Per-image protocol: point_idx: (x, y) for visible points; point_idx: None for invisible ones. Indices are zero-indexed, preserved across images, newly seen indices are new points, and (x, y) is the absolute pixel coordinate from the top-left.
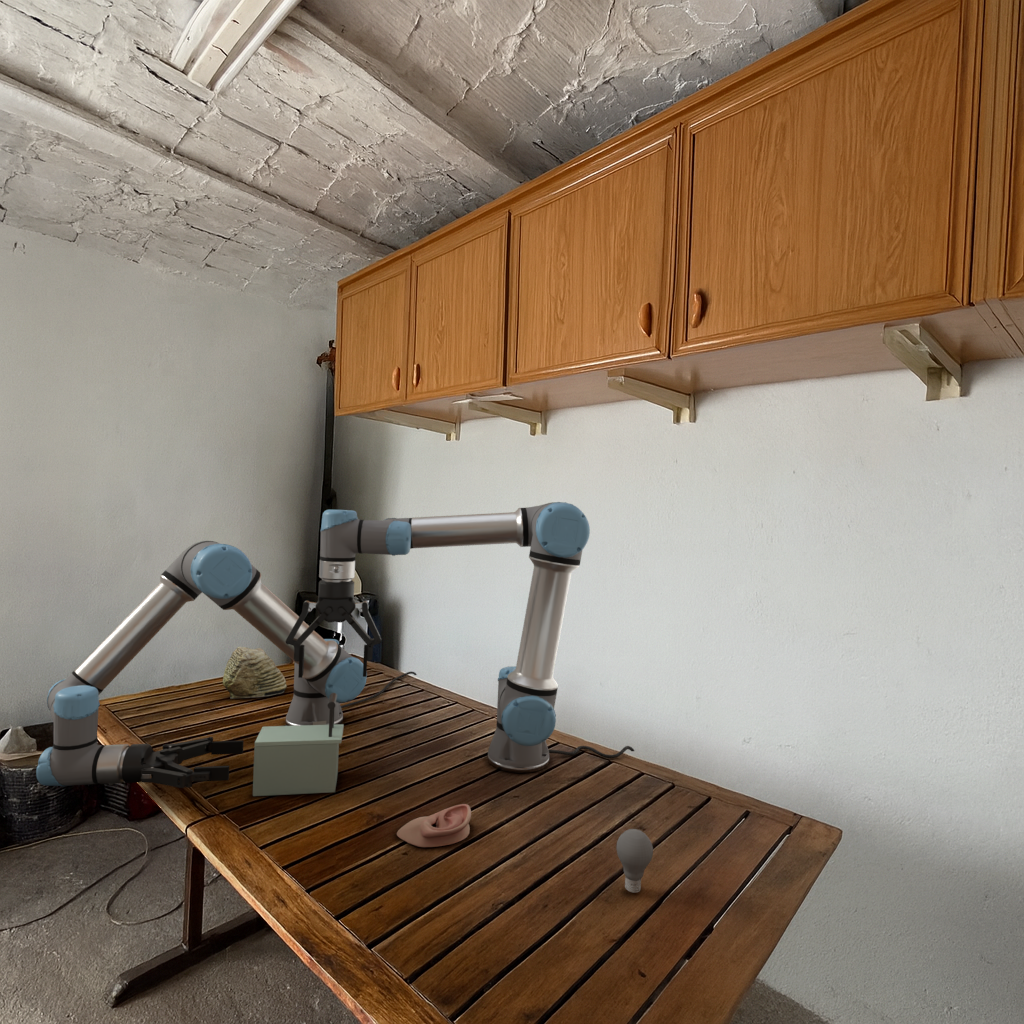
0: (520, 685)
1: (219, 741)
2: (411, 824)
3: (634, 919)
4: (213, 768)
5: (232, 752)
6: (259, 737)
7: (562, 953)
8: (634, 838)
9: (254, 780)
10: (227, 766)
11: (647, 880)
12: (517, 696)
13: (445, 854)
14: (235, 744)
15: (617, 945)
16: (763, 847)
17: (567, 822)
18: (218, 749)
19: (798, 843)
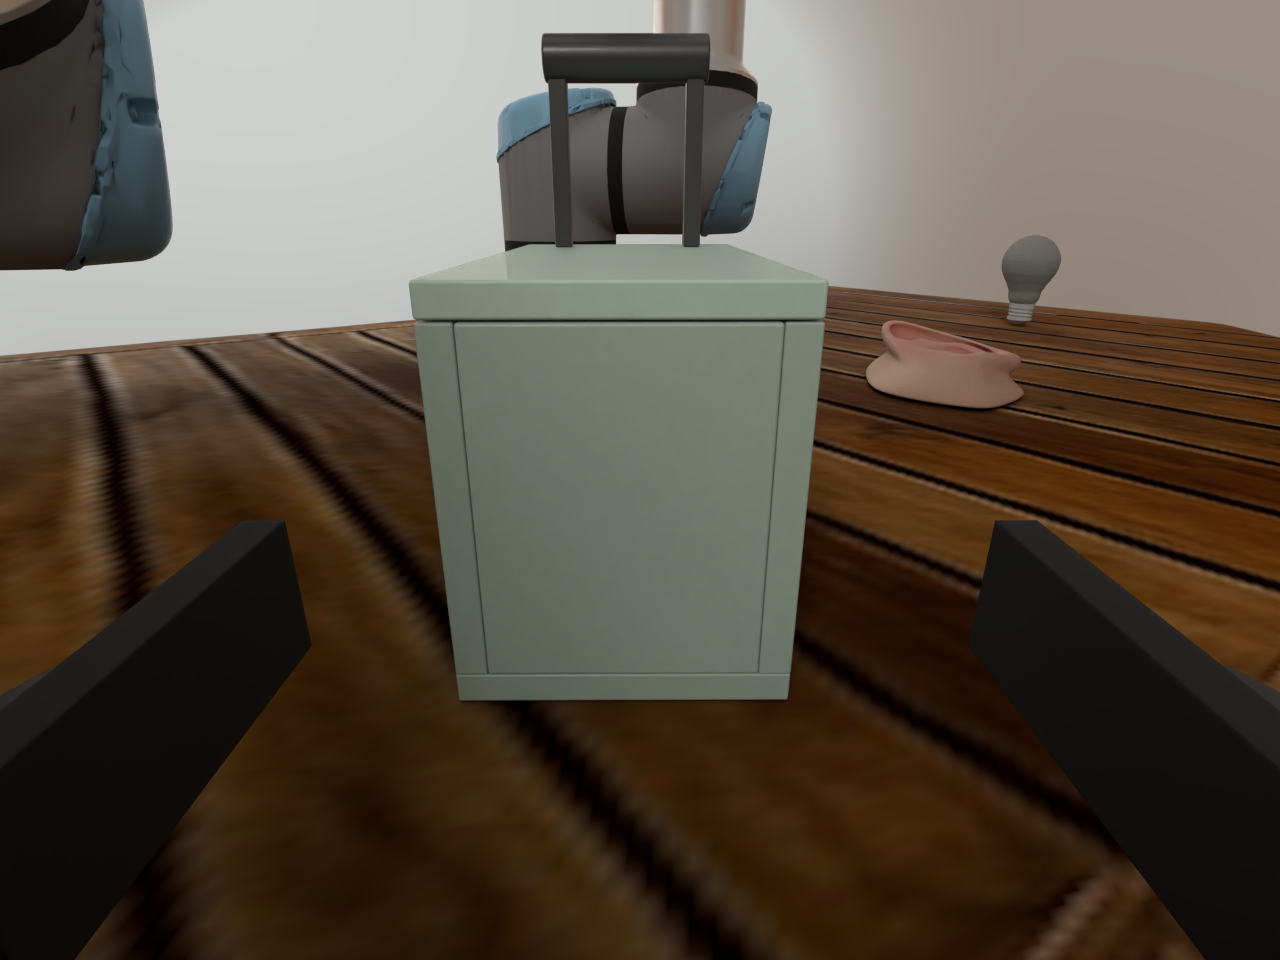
0: (747, 76)
1: (19, 710)
2: (961, 378)
3: (1085, 328)
4: (1143, 612)
5: (251, 704)
6: (708, 277)
7: (1222, 350)
8: (1050, 239)
9: (797, 592)
10: (1023, 526)
11: (980, 320)
12: (745, 106)
13: (1023, 383)
14: (246, 592)
15: (1157, 335)
16: (860, 295)
17: (834, 331)
18: (106, 818)
19: (844, 290)
